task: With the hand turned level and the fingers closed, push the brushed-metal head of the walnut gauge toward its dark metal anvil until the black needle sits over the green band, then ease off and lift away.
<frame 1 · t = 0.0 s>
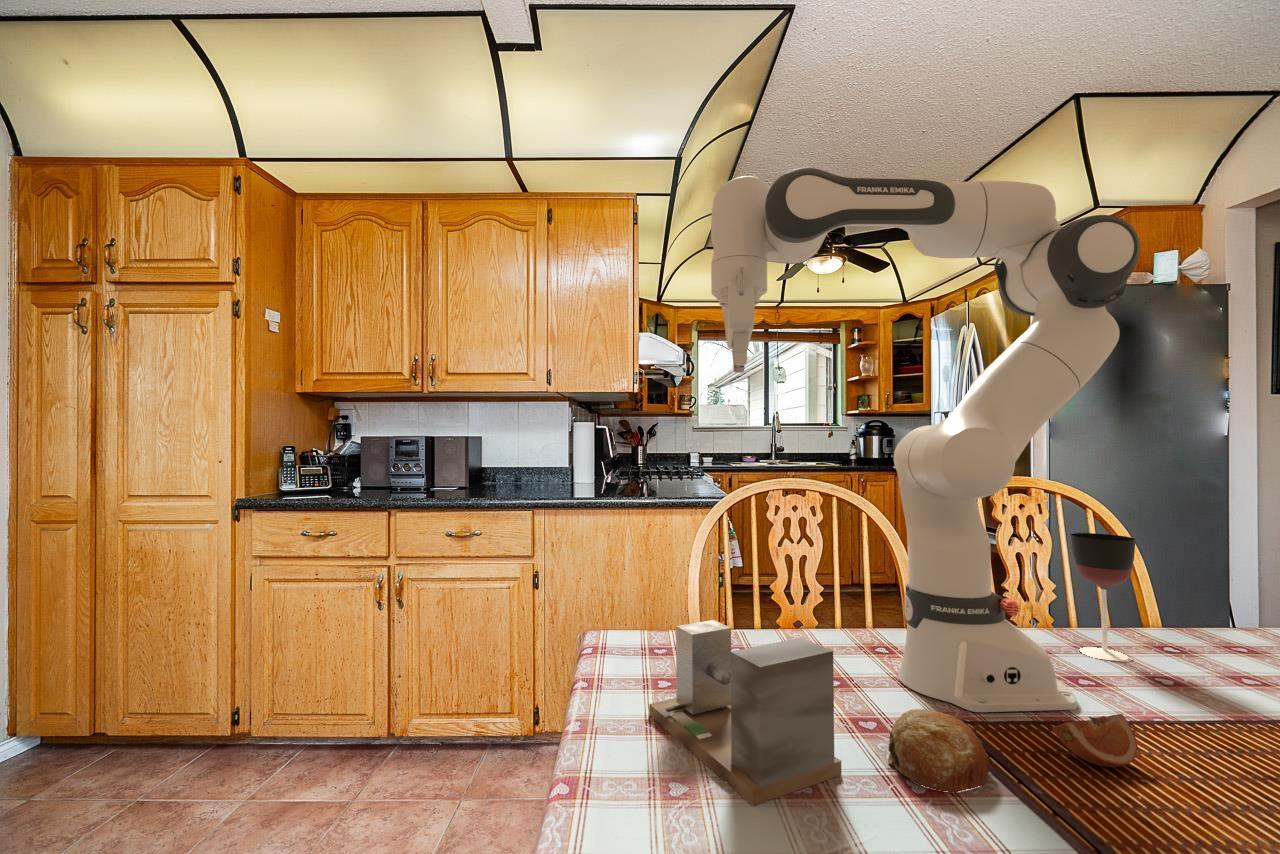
hand: (739, 368, 93), 48 cm above the table, tool pointing down, fingers open, 8 cm apart
fruit slice: (1092, 762, 67), on the table
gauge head: (701, 670, 76), point 7 cm above the table, slide at 0.0 cm
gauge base: (746, 749, 69), on the table
wineglass: (1105, 655, 100), on the table
bread roll: (938, 771, 65), on the table
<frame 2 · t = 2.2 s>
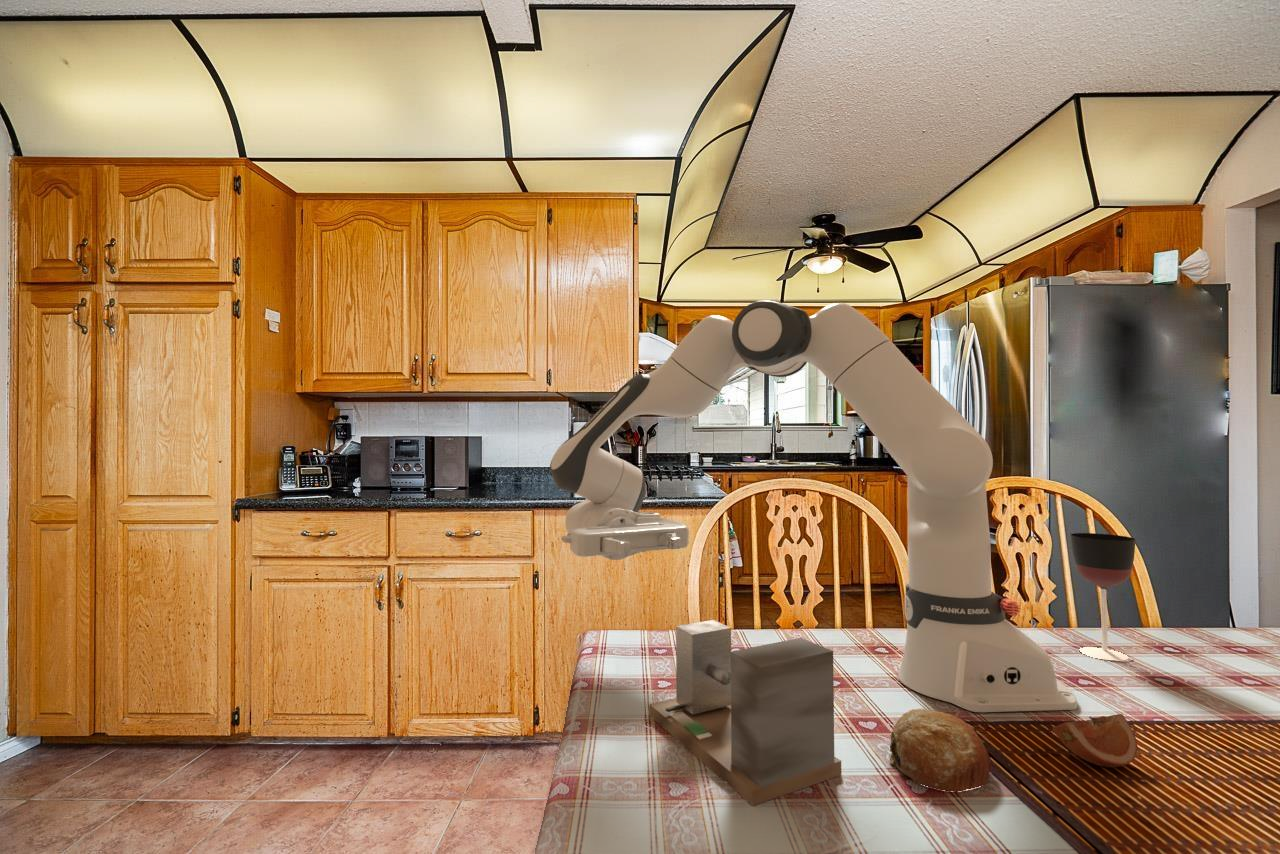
hand: (652, 546, 91), 20 cm above the table, tool horizontal, fingers open, 8 cm apart
nothing on the table moved.
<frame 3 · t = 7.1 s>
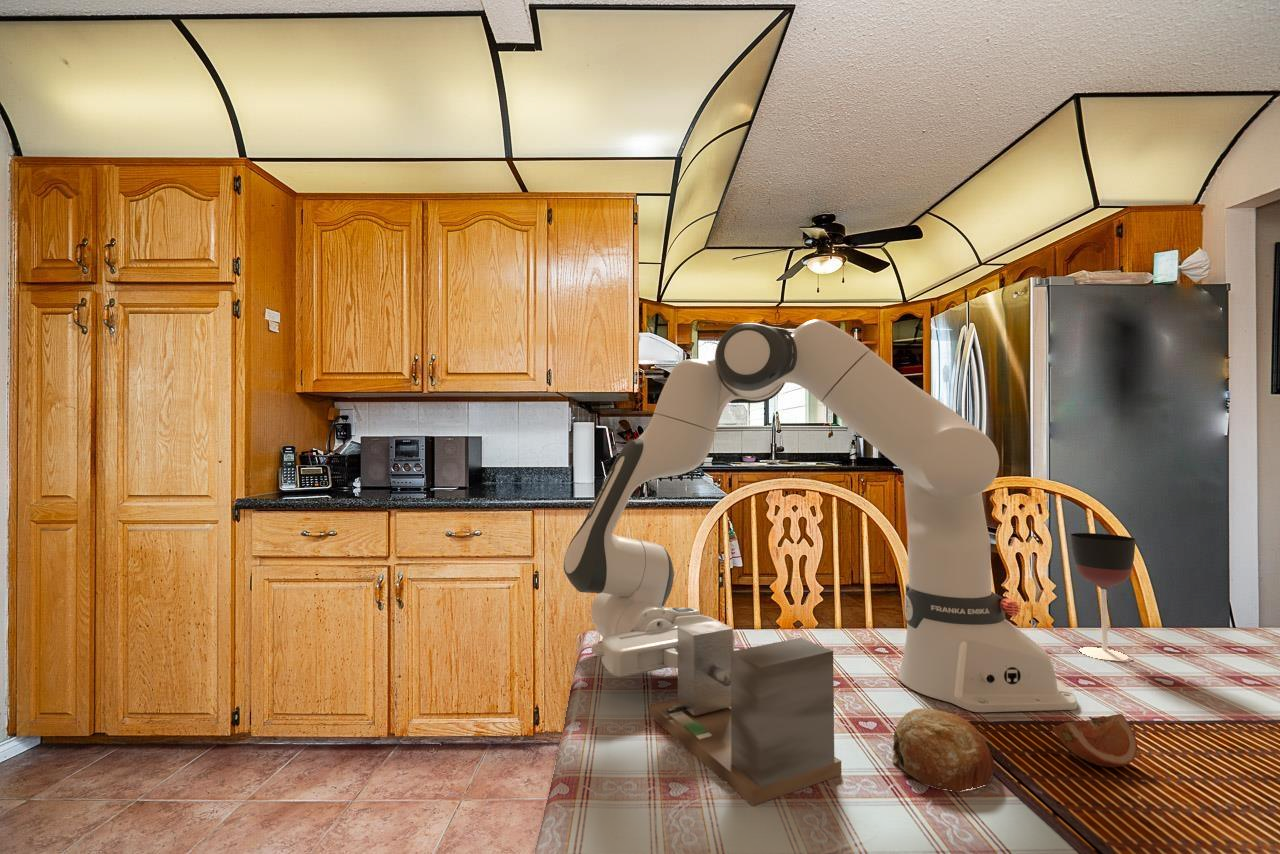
hand: (697, 664, 79), 6 cm above the table, tool horizontal, fingers closed, pressing on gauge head
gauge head: (703, 671, 75), point 7 cm above the table, slide at 0.4 cm, touching gripper
everything else where it was.
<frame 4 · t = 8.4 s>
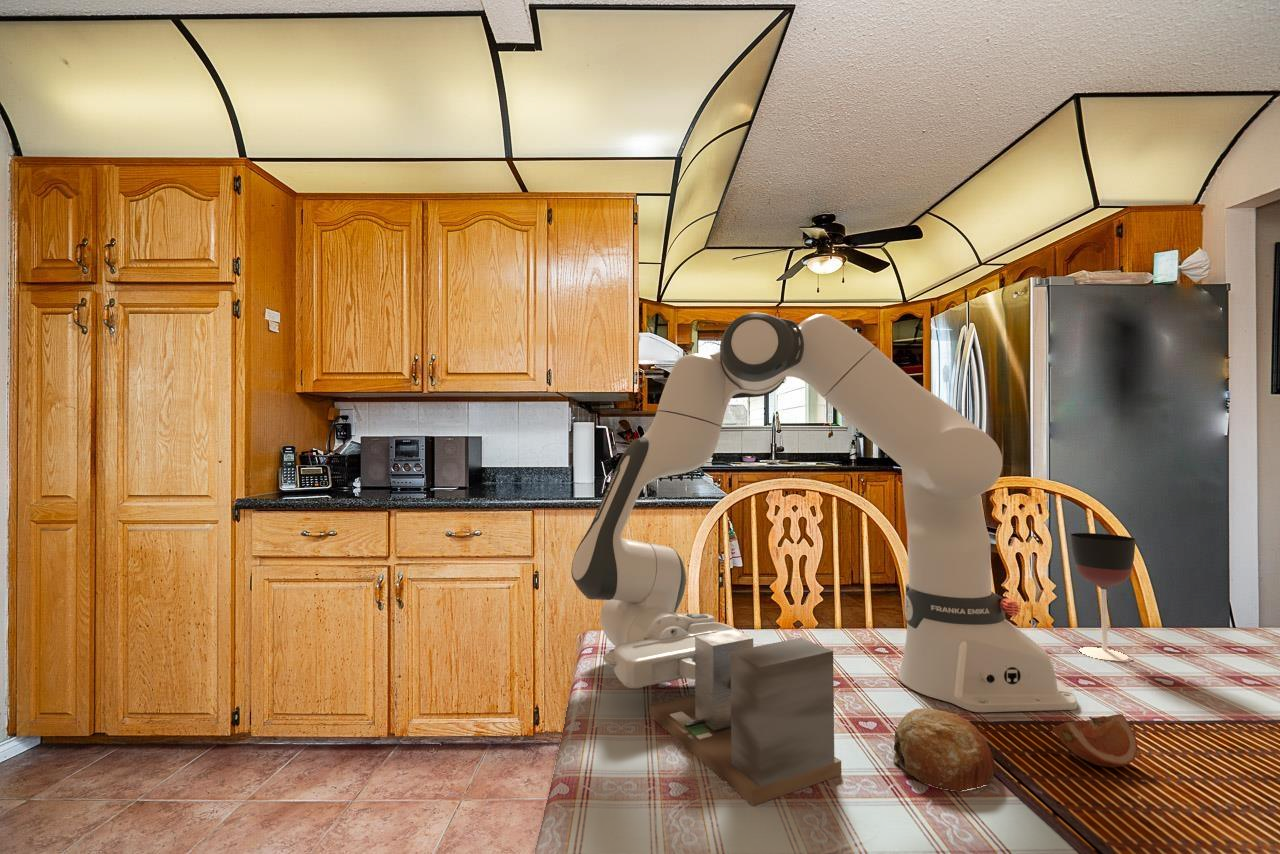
hand: (715, 675, 75), 6 cm above the table, tool horizontal, fingers closed, pressing on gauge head
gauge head: (722, 683, 71), point 7 cm above the table, slide at 4.7 cm, touching gripper
everything else where it was.
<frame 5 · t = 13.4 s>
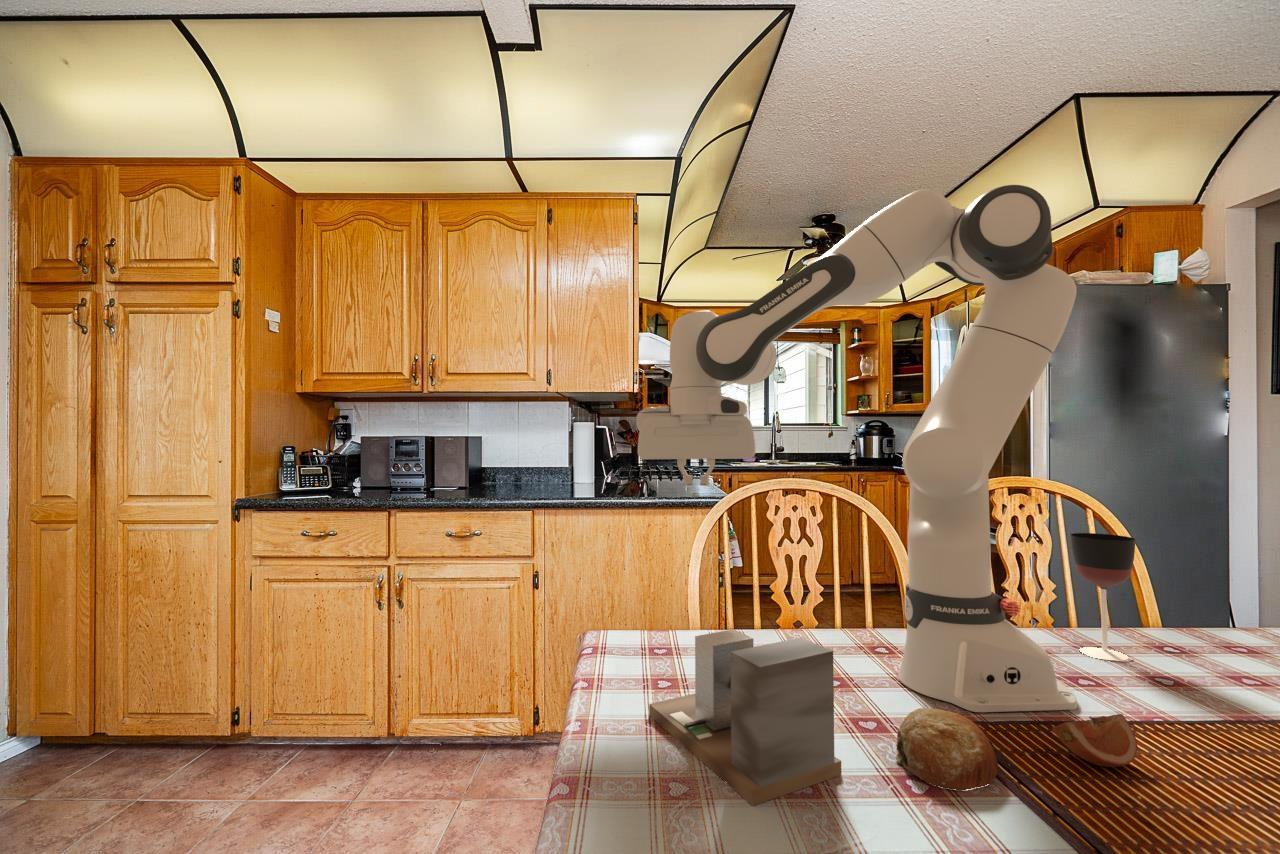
hand: (696, 485, 102), 29 cm above the table, tool pointing down, fingers closed
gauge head: (722, 684, 71), point 7 cm above the table, slide at 4.7 cm
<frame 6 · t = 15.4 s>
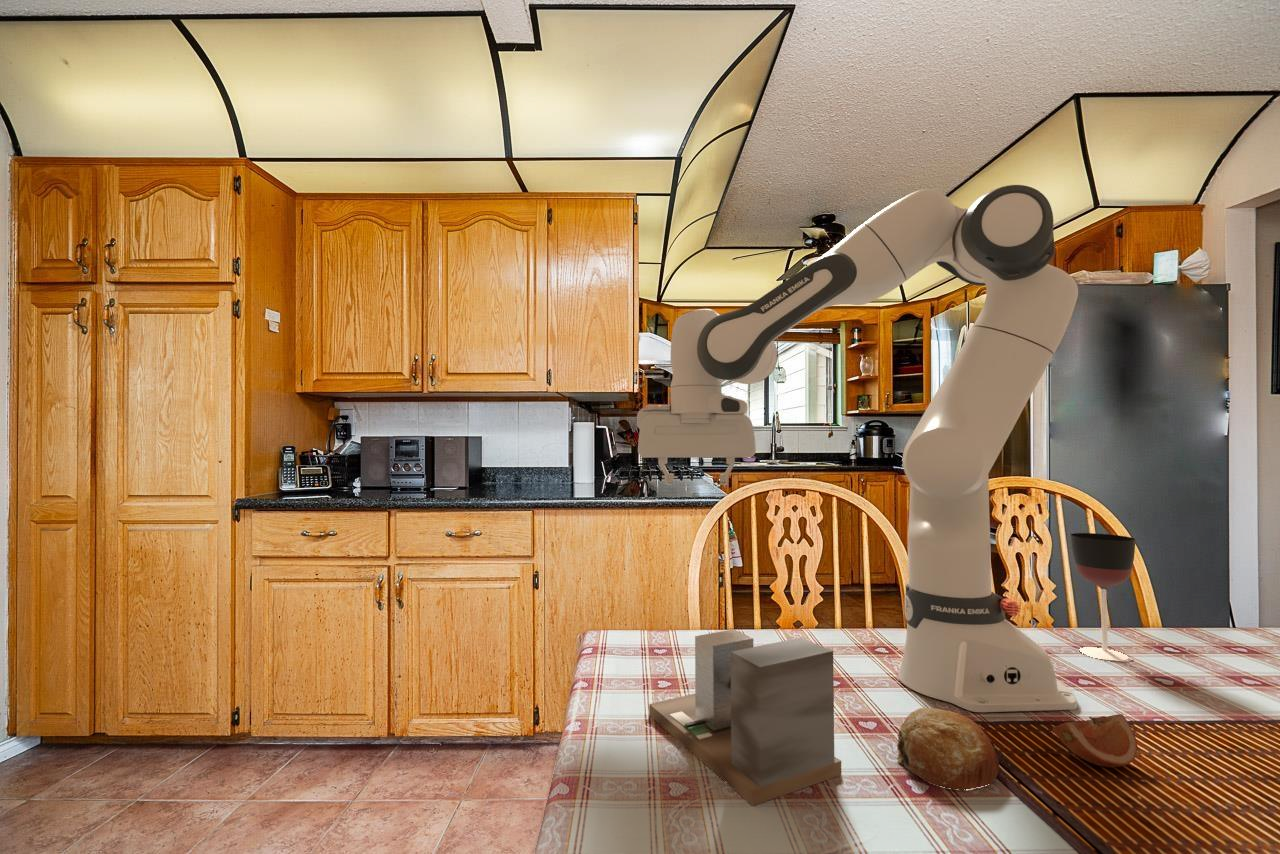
hand: (696, 484, 102), 29 cm above the table, tool pointing down, fingers open, 8 cm apart
at the end: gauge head slide at 4.7 cm; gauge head touching nothing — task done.
